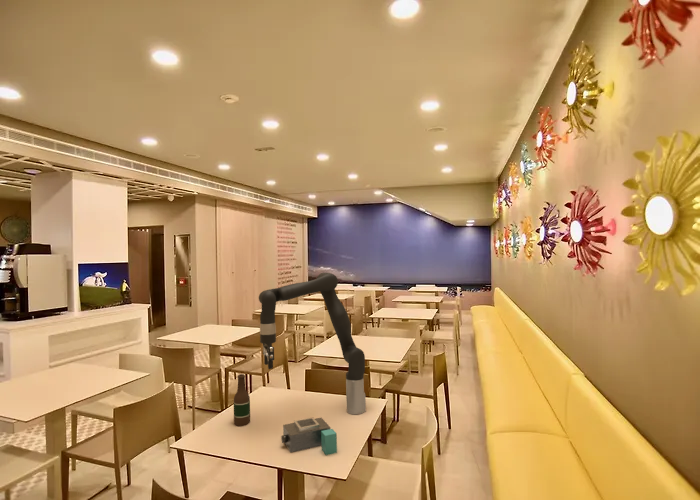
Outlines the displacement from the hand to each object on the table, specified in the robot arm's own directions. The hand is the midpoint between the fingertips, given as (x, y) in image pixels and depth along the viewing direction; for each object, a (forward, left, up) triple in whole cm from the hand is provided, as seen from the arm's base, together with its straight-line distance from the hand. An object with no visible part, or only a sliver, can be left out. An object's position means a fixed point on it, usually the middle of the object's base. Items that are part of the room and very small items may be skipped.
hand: (268, 366), depth 188 cm
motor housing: (-12, +21, -30) cm, 38 cm away
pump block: (-18, +33, -30) cm, 48 cm away
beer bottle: (+11, -12, -30) cm, 34 cm away
